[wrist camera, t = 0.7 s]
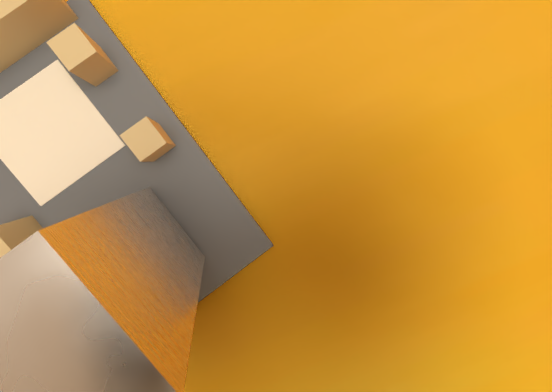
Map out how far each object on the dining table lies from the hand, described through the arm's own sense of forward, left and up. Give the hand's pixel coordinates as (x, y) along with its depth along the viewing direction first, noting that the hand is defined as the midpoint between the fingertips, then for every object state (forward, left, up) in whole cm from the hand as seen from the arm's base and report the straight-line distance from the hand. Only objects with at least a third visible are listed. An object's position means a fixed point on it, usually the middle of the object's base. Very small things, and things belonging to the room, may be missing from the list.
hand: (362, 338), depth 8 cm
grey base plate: (+2, +10, -17) cm, 19 cm away
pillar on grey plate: (-1, +7, -16) cm, 17 cm away
